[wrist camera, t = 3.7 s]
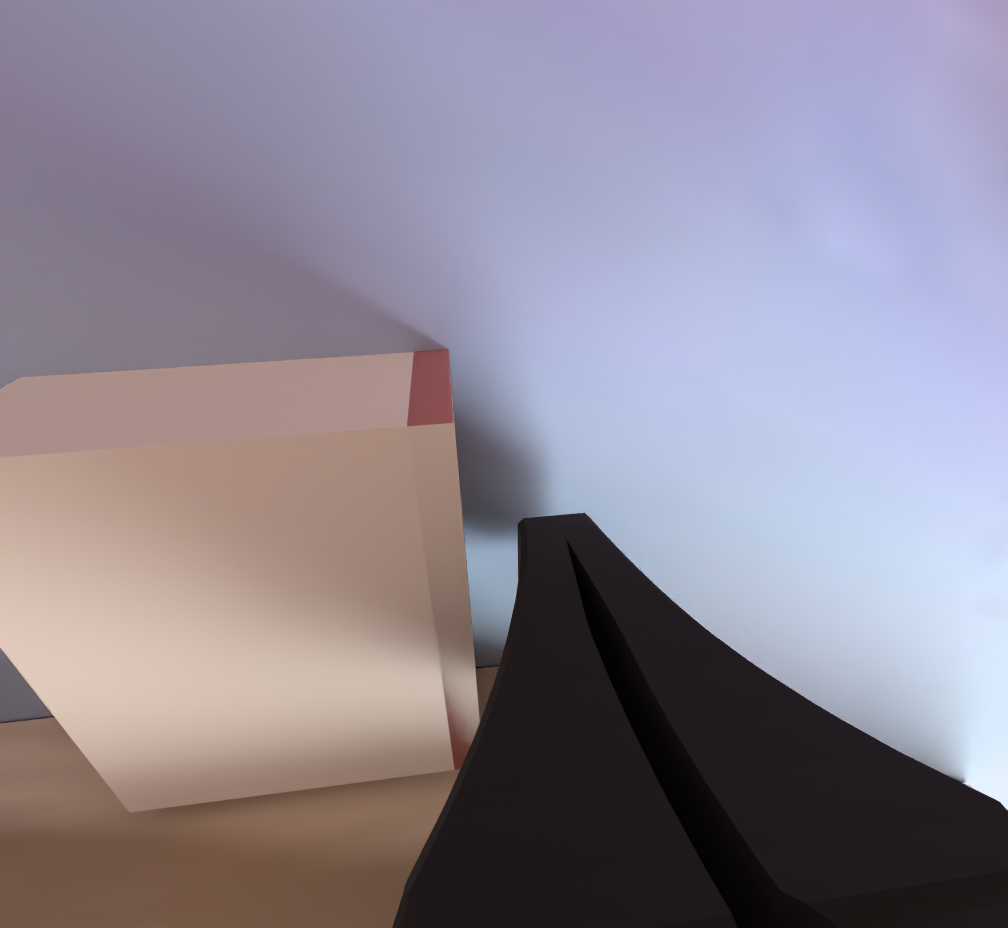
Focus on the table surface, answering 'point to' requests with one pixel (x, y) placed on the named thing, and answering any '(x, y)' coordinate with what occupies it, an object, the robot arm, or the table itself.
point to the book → (241, 572)
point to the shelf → (203, 846)
